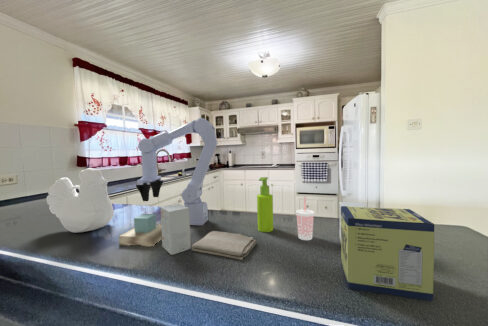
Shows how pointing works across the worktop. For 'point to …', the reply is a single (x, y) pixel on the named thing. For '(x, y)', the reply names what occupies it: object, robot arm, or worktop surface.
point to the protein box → (387, 251)
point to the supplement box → (349, 206)
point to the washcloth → (225, 244)
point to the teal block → (145, 223)
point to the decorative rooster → (81, 202)
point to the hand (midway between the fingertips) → (151, 199)
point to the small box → (175, 228)
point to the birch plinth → (141, 237)
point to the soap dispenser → (265, 207)
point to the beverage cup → (305, 222)
